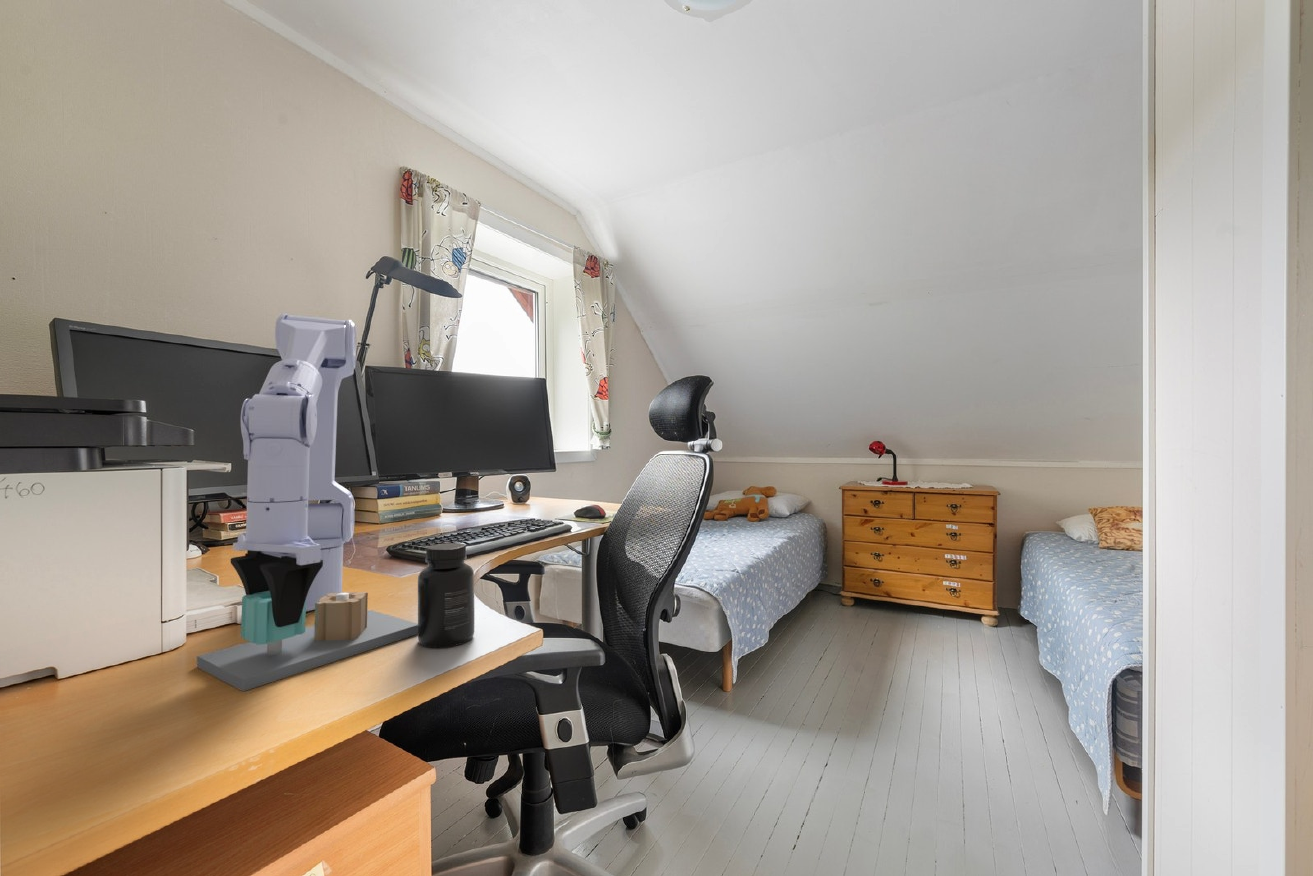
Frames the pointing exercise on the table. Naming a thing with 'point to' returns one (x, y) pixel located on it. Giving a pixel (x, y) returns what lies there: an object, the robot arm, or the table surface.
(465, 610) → the supplement bottle
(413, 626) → the gear board
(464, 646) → the table surface
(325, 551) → the robot arm
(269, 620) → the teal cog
